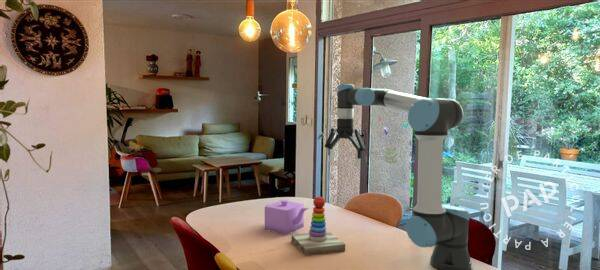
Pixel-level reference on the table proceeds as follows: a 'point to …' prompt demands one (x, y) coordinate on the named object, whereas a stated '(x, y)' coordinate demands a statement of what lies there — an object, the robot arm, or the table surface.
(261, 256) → the table surface
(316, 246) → the wooden square board
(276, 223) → the teapot
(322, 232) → the stacking toy
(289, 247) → the table surface
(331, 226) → the table surface
